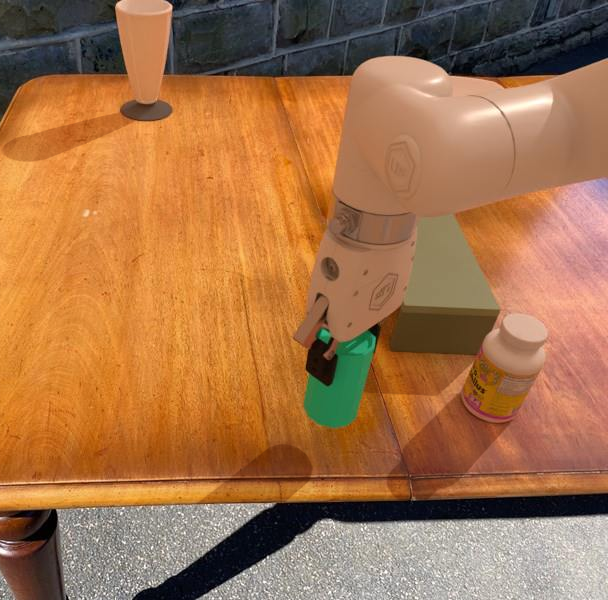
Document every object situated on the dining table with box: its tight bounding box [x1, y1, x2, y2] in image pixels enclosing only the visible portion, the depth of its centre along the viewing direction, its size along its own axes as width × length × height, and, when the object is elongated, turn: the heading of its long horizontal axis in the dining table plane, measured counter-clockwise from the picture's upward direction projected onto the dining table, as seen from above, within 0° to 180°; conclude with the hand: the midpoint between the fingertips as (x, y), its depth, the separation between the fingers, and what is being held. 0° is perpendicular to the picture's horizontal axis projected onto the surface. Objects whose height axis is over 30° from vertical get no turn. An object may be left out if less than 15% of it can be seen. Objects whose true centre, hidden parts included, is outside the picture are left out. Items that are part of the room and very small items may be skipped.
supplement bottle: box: [460, 312, 549, 424], centre depth 73 cm, size 7×7×13 cm
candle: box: [302, 329, 376, 429], centre depth 66 cm, size 6×6×12 cm
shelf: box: [388, 213, 502, 356], centre depth 92 cm, size 28×12×8 cm, turn 178°
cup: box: [114, 0, 173, 122], centre depth 132 cm, size 12×12×22 cm
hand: (340, 361), depth 65 cm, fingers closed on candle, 5 cm apart
